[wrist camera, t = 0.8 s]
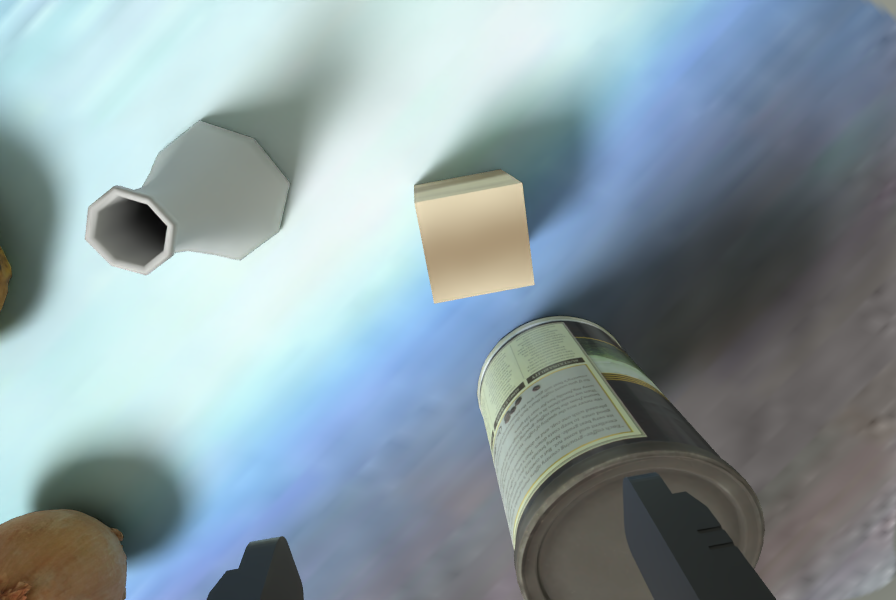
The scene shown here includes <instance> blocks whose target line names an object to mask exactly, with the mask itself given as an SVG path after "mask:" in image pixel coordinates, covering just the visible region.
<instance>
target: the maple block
mask: <svg viewBox="0 0 896 600" xmlns="http://www.w3.org/2000/svg"><path fill="white" fill-rule="evenodd" d="M414 202H415V208H416V213H417V218H418V223H419V228H420V233H421V238H422V243H423V249H424V254H425V259H426V264H427V269H428V274H429V279H430V284H431V289H432V294H433V300H434V303H440V302H445V301H450V300H456V299H461V298H466V297H472V296H477V295H483V294H488V293H493V292H499V291H504V290H509V289H515V288H520V287H525V286H531V285H534V277H533V269H532V260H531V252H530V244H529V235H528V227H527V218H526V210H525V202H524V193H523V185H522V182H520V181H519V180H517V179H515V178H514V177H512V176H511V175H509V174H508V173H506V172H504V171H503V170H501V169H499V170H494V171H489V172H483V173H478V174H472V175H467V176H462V177H456V178H451V179H446V180H440V181H435V182H429V183H424V184H419V185H414Z"/></svg>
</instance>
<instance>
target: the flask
mask: <svg viewBox="0 0 896 600" xmlns="http://www.w3.org/2000/svg"><path fill="white" fill-rule="evenodd" d="M289 186H290V182H289V181H288V180H287V179H286V177H285V176H284V175H283V174H282V172H281V171H280V170H279V169H278V167H277V166H276V165H275V164H274V162H273V161H272V160H271V159H270V157H269V156H268V155H267V154H266V152H265V151H264V150H263V149H262V147H261V146H260V145H259V144H258V142H257V141H256V140H255V139H254V138H252V137H249V136H246V135H242V134H239V133H236V132H233V131H230V130H227V129H224V128H221V127H218V126H215V125H212V124H209V123H206V122H203V121H198V122H196V123H195V124H194V125H193V126H192V127H190V128H189V129H188V130H187V131H185V132H184V133H183V134H182V135H180V136H179V137H178V138H177V139H175V140H174V141H173V142H172V143H170V144H169V145H168V146H167V147H165V148H164V149H163V150H162V151H160V152H159V153H158V155H157V157H156V159H155V161H154V164H153V166H152V169H151V171H150V173H149V175H148V177H147V179H146V181H145V182H144V184H143V186H142V188H139V189H136V190H132V189H129V188H125V187H122V186H114V187H112V188H111V189H110V190H109V191H107V192H106V193H105V194H104V195H103V196H101V197H100V198H99V199H98V200H96V201H95V202H94V203H93V204H91V205H90V206H89V207H88V215H87V224H86V234H85V240H86V241H87V242H88V243H89V244H90V245H91V246H92V247H93V248H94V249H95V250H96V251H97V252H98V253H99V254H100V255H101V256H102V257H103V258H104V259H105V260H106V261H107V262H108V263H109V264H110V265H111V266H114V267H118V268H121V269H125V270H129V271H132V272H136V273H140V274H144V275H148V274H149V273H151V272H152V271H153V270H155V269H156V268H157V267H159V266H160V265H161V264H163V263H164V262H165V261H167V260H168V259H169V258H170V257H172V256H173V255H174V253H178V252H184V251H191V252H198V253H205V254H212V255H217V256H221V257H226V258H230V259H235V260H242V259H243V258H244V257H246V256H247V255H248V254H250V253H251V252H252V251H254V250H255V249H256V248H258V247H259V246H260V245H262V244H263V243H265V242H266V241H267V240H269V239H270V238H271V237H273V236H274V235H275V234H277V233H278V232H279V229H280V225H281V221H282V216H283V212H284V208H285V203H286V199H287V195H288V190H289Z"/></svg>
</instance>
